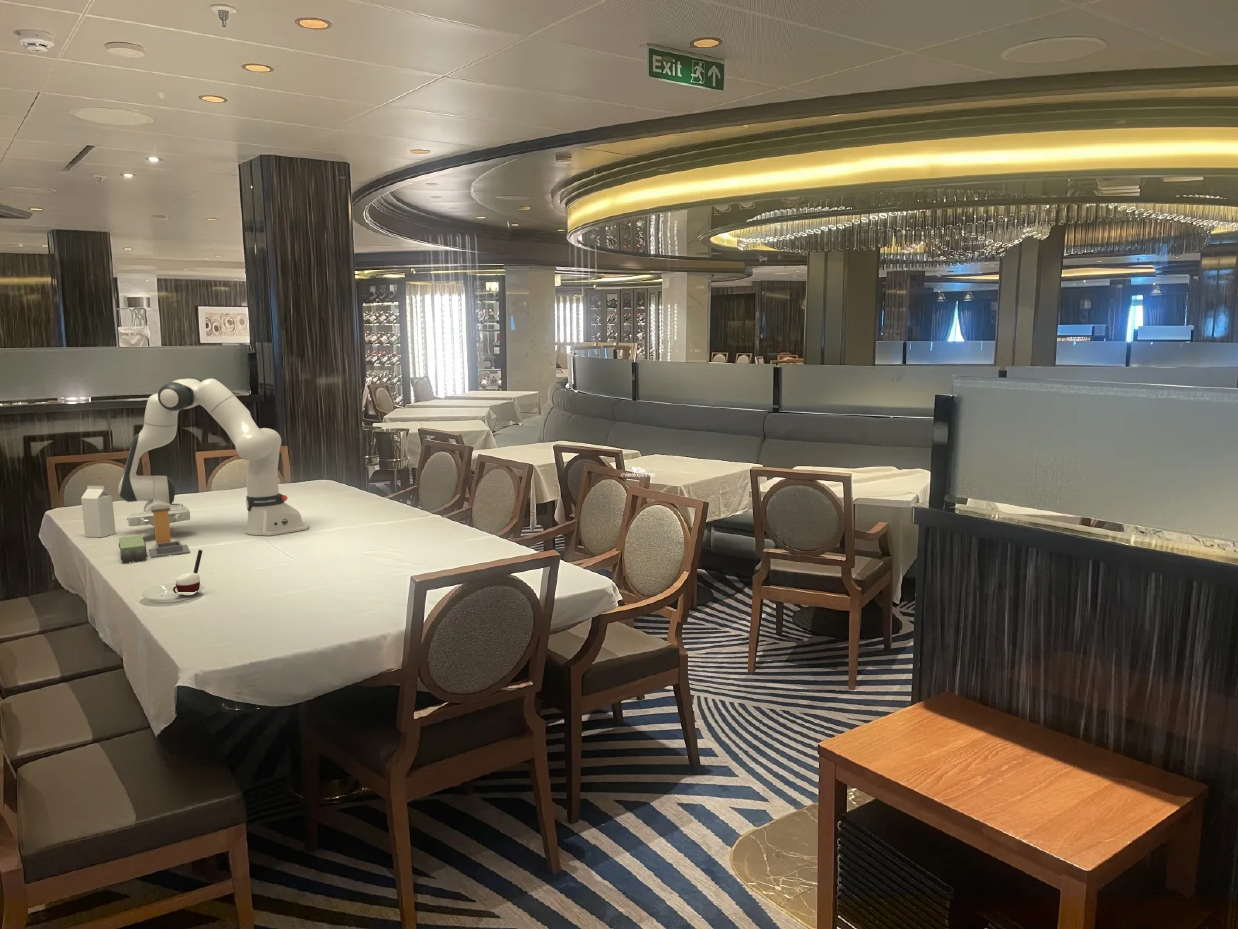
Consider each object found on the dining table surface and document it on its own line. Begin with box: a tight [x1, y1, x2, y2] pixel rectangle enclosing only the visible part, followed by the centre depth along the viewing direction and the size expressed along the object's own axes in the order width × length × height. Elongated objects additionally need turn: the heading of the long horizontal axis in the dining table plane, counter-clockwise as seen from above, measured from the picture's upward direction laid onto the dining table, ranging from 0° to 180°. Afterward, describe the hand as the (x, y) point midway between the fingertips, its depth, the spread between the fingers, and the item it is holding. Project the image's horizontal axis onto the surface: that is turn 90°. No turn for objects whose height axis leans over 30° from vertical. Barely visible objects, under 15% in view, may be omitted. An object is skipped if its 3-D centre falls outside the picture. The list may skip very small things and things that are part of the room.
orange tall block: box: [151, 505, 172, 545], centre depth 307 cm, size 6×6×14 cm
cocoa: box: [172, 549, 203, 594], centre depth 249 cm, size 10×6×12 cm, turn 128°
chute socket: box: [148, 540, 191, 559], centre depth 299 cm, size 12×12×3 cm
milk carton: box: [80, 485, 117, 538], centre depth 323 cm, size 7×7×19 cm
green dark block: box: [118, 534, 148, 564], centre depth 294 cm, size 8×20×5 cm, turn 32°
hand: (160, 521), depth 312 cm, fingers open, 8 cm apart
